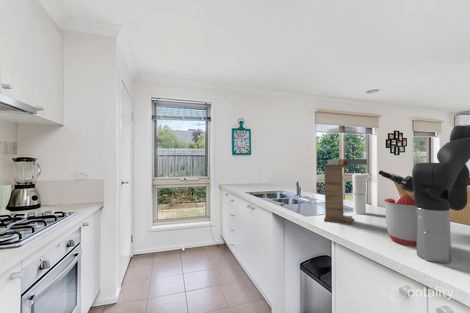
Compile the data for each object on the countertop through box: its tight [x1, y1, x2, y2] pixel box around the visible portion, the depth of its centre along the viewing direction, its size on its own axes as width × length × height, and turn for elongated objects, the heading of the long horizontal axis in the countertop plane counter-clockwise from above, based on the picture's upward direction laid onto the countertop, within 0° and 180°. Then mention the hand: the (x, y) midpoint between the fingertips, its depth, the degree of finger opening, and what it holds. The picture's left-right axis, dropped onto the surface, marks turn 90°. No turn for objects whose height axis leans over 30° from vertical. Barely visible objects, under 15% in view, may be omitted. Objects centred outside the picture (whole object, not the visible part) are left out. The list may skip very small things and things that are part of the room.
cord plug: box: [326, 158, 368, 166], centre depth 130 cm, size 20×5×3 cm, turn 62°
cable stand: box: [323, 161, 353, 225], centre depth 132 cm, size 13×14×34 cm
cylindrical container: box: [351, 173, 367, 215], centre depth 149 cm, size 7×7×25 cm
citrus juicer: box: [384, 193, 417, 247], centre depth 97 cm, size 16×17×20 cm
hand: (380, 172), depth 121 cm, fingers open, 8 cm apart
